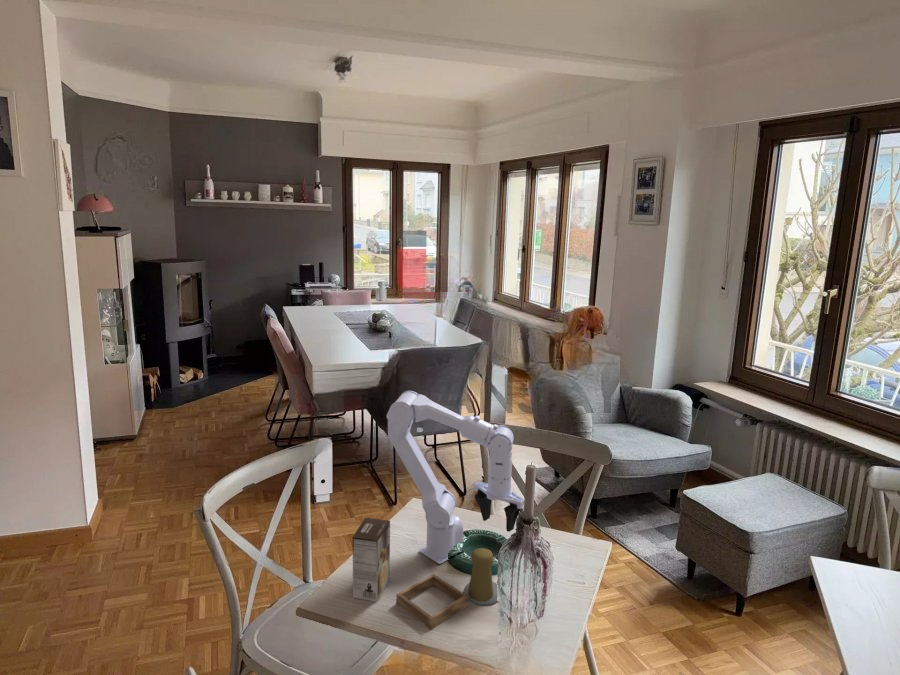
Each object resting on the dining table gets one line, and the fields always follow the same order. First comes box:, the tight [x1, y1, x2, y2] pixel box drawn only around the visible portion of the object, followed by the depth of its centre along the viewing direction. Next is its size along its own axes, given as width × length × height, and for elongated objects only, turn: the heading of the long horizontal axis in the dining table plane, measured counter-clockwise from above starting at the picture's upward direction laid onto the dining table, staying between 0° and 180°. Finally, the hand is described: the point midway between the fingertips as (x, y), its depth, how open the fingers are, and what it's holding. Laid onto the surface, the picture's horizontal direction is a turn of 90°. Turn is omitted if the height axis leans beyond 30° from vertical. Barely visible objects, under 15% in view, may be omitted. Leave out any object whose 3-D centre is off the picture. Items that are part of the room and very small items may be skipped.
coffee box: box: [352, 517, 391, 602], centre depth 145 cm, size 9×6×16 cm
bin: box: [395, 573, 469, 630], centre depth 141 cm, size 12×12×2 cm
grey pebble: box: [463, 581, 498, 606], centre depth 147 cm, size 9×9×1 cm
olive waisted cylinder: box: [468, 547, 495, 601], centre depth 144 cm, size 6×6×11 cm
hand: (498, 524), depth 157 cm, fingers open, 7 cm apart
